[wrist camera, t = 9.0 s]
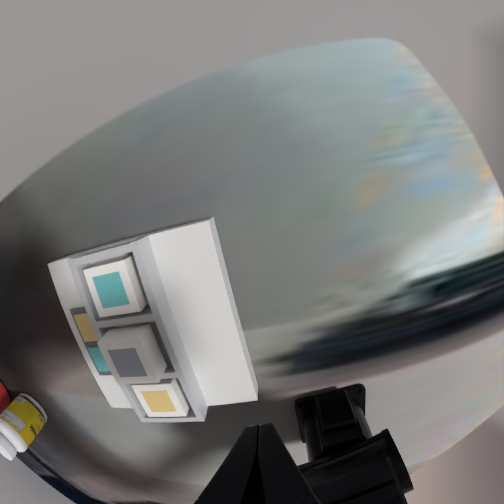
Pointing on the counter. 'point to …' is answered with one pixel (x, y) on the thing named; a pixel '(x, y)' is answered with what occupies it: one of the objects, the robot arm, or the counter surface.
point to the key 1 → (116, 286)
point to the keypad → (167, 317)
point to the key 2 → (162, 398)
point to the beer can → (3, 397)
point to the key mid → (133, 355)
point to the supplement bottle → (20, 425)
